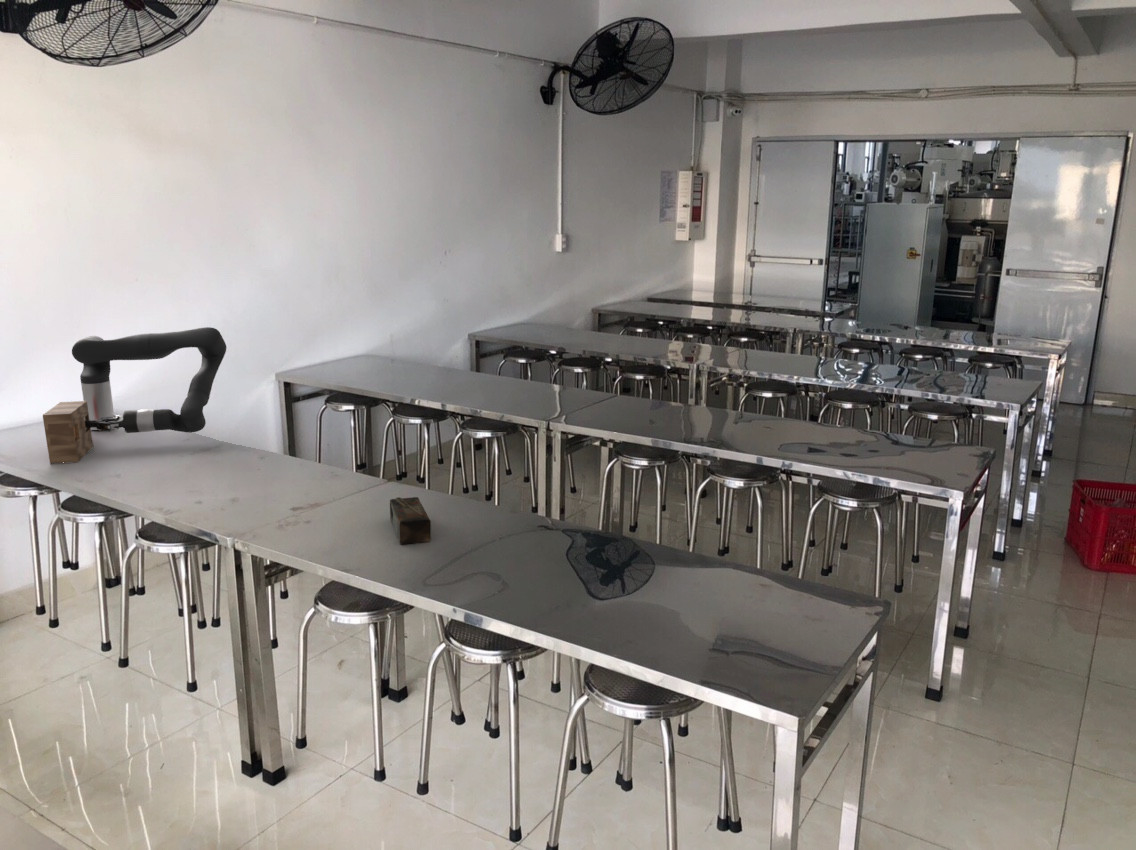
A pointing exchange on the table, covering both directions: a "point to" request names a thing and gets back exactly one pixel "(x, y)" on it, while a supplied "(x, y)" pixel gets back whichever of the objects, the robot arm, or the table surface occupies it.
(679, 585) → the table surface
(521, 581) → the table surface
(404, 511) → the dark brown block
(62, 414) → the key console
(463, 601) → the table surface
